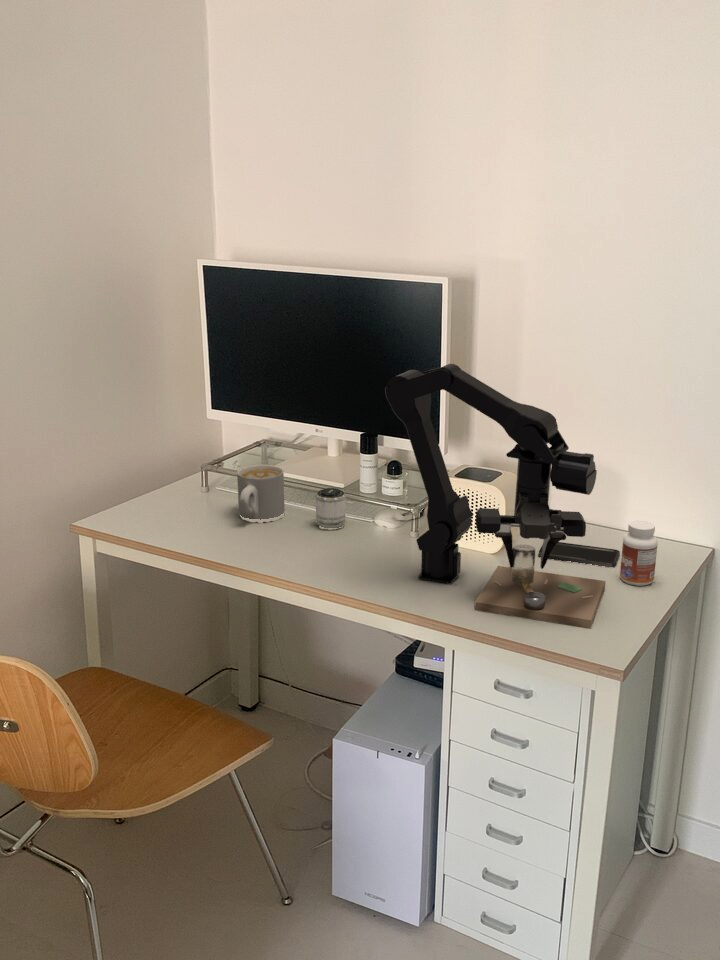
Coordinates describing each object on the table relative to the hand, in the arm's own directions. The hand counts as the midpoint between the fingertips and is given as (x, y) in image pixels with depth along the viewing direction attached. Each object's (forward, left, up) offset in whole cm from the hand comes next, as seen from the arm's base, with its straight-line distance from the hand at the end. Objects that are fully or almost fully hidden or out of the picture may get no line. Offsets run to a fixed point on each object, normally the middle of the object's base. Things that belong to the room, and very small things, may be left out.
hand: (526, 567), depth 182 cm
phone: (+6, +22, -6) cm, 24 cm away
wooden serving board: (+3, -1, -6) cm, 6 cm away
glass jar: (-46, +20, -6) cm, 50 cm away
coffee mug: (-63, +19, -6) cm, 66 cm away
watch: (-32, +31, -6) cm, 45 cm away
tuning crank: (+1, -3, -4) cm, 5 cm away
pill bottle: (+18, +14, -6) cm, 24 cm away
